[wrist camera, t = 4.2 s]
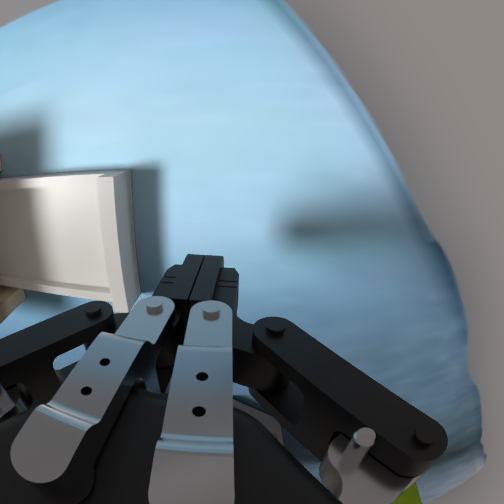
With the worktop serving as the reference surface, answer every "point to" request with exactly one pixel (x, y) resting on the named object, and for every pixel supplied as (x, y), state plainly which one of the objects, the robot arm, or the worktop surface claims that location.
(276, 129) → the worktop surface
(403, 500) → the soap dispenser
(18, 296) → the small wooden table
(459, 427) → the worktop surface
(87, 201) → the white pull-out drawer
